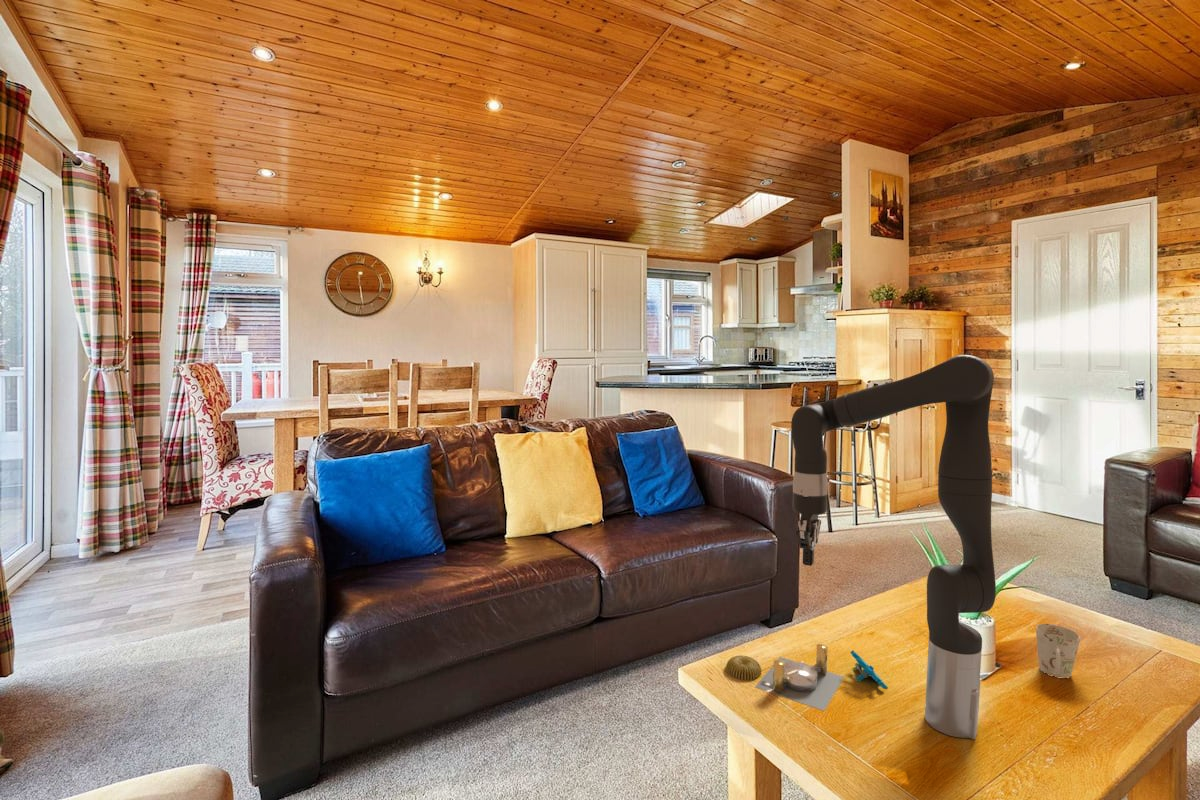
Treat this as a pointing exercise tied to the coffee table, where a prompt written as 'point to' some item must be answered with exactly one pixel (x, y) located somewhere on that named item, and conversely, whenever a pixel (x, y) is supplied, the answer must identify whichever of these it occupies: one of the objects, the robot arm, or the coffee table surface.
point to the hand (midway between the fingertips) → (808, 564)
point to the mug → (1056, 649)
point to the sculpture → (743, 667)
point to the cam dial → (799, 672)
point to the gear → (865, 670)
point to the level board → (812, 698)
